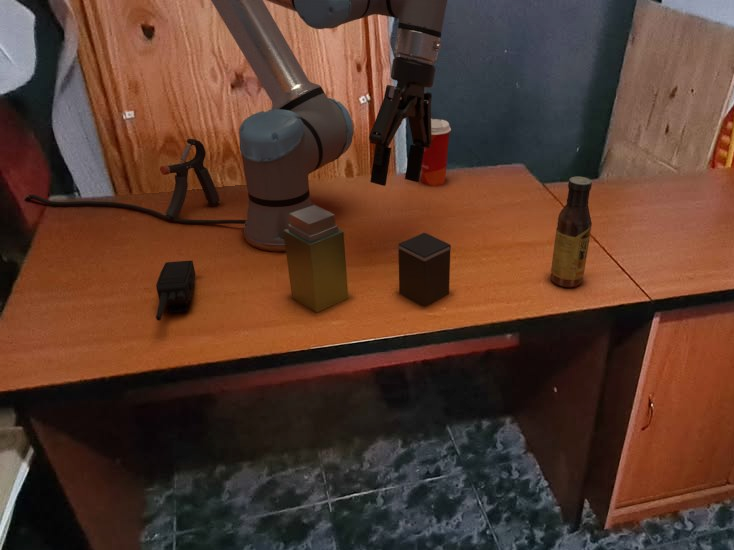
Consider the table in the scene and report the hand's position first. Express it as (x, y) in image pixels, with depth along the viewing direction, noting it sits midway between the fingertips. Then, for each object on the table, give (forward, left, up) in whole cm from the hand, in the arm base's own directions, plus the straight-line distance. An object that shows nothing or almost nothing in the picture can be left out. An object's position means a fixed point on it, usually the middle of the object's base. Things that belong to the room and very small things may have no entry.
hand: (395, 182), depth 127 cm
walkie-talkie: (-18, -37, -15) cm, 44 cm away
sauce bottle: (+32, +11, -15) cm, 37 cm away
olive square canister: (-1, -21, -15) cm, 26 cm away
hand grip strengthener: (-45, -11, -15) cm, 49 cm away
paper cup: (-15, +35, -15) cm, 40 cm away
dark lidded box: (+13, -9, -15) cm, 22 cm away
